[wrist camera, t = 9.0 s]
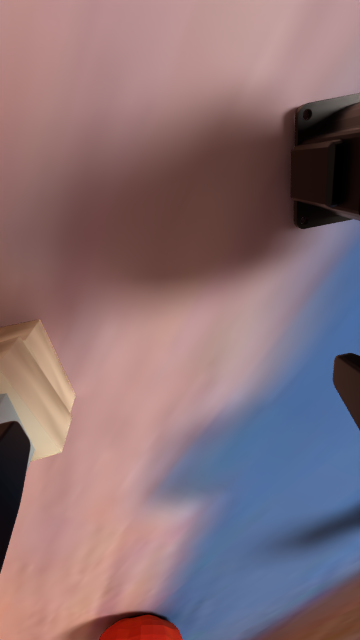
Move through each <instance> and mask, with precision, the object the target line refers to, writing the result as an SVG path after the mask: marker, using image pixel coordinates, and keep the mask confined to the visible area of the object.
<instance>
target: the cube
mask: <svg viewBox="0 0 360 640" xmlns="http://www.w3.org/2000/svg"><path fill="white" fill-rule="evenodd" d="M9 421H18V422H19V423H20V425H21V426H22V428H23V430H24V431H25V433H26V435H27V436H28V434H27V432H26V430H25V428H24V426H23V425H22V423H21V421H20V419H19V417H18V415H17V413H16V411H15V409H14V407H13V405H12V403H11V401H10V399H9V397H8V395H7V393H5V394H0V424H1V423H4V422H9ZM28 438H29V436H28ZM29 440H30V438H29ZM30 444H31V448H30V454H29V460H28V465H27V469H28V466H29V464H30V461H31V459H32V456H33V454H34V451H35V448H34V446H33V444H32V442H31V440H30Z"/></svg>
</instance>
